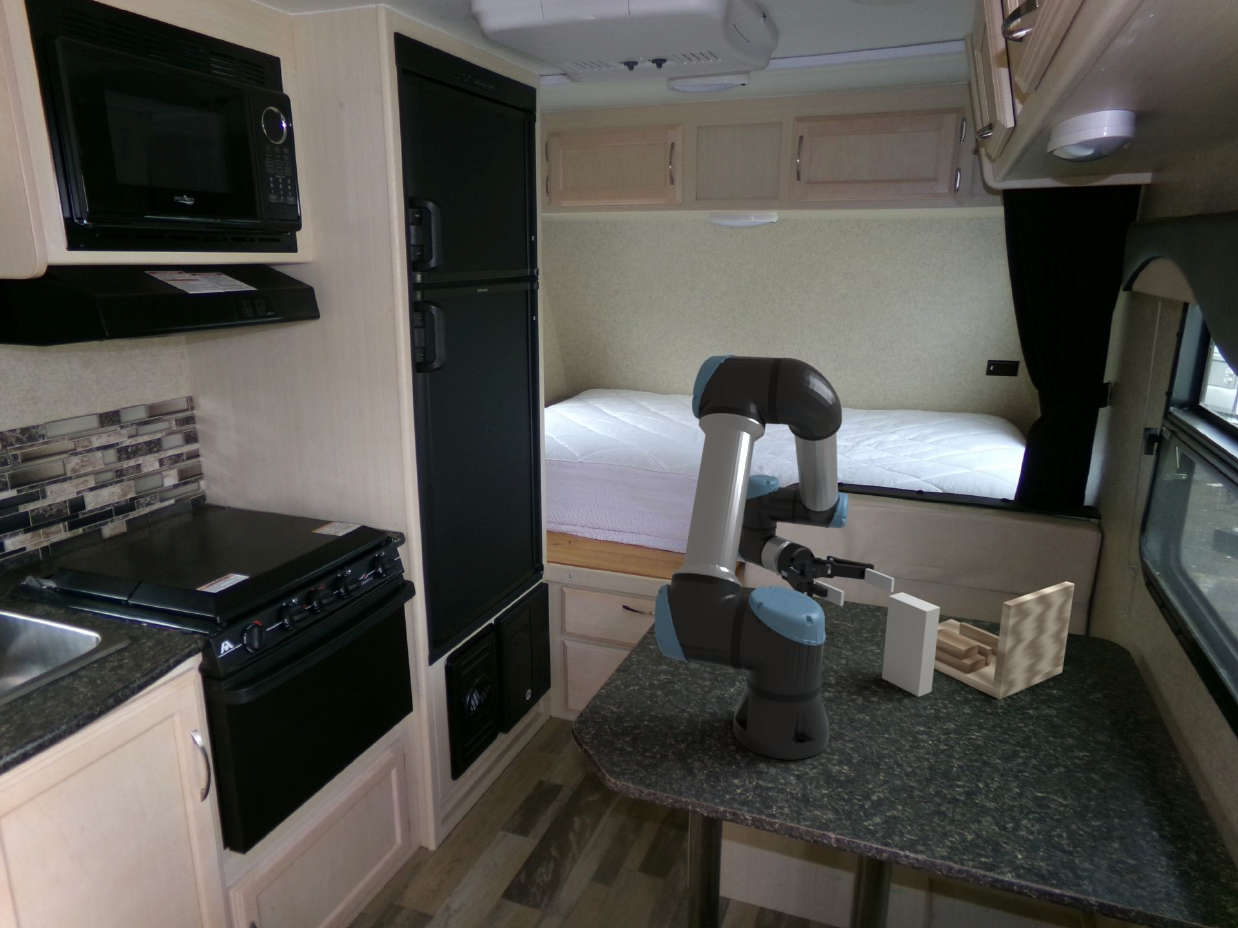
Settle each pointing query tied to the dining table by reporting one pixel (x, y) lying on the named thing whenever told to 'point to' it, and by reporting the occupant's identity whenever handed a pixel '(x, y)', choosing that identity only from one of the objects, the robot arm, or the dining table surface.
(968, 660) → the walnut offcuts
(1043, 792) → the dining table surface
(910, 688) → the white block
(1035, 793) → the dining table surface
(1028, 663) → the maple rack
